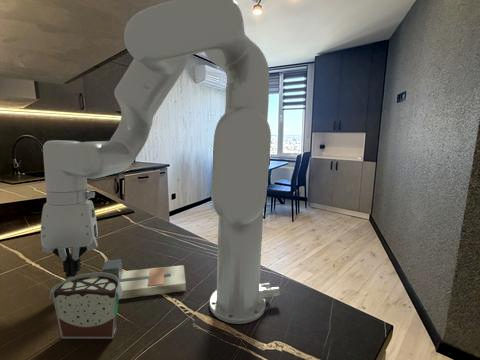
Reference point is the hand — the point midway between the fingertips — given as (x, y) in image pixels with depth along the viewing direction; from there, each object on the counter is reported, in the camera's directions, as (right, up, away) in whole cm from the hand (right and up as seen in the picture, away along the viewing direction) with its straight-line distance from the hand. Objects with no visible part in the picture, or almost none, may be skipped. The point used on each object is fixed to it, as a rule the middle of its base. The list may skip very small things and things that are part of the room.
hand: (72, 273), depth 59 cm
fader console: (+14, -5, +5) cm, 15 cm away
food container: (+11, -7, -9) cm, 16 cm away
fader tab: (+8, -2, +3) cm, 9 cm away
